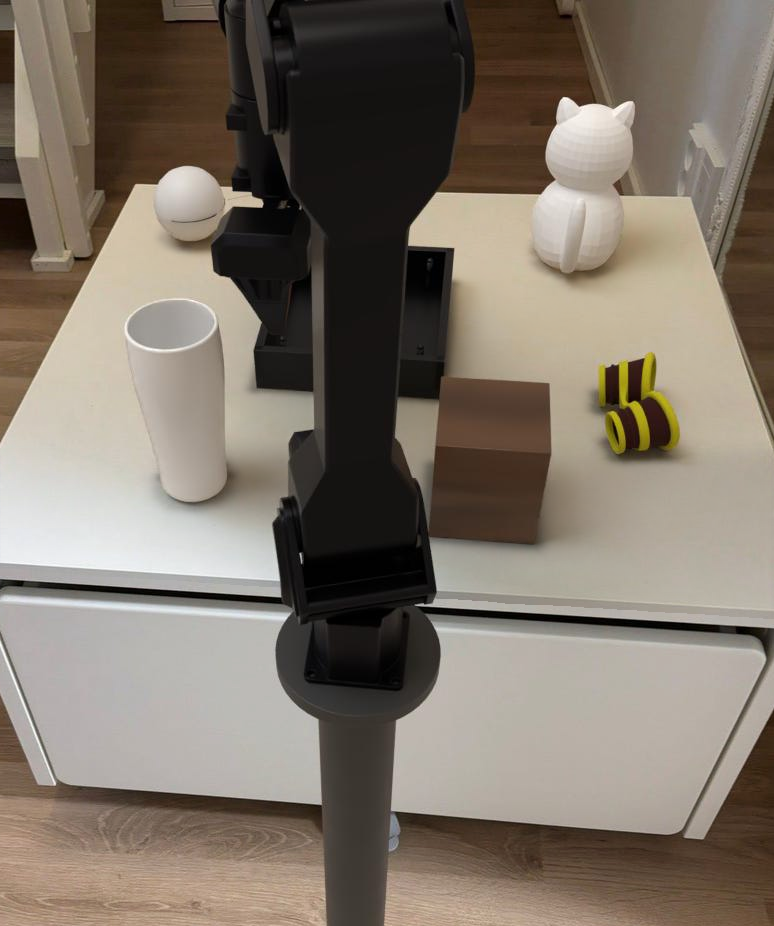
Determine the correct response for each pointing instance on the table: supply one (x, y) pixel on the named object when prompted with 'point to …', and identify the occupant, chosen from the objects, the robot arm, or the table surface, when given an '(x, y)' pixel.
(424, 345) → the tray
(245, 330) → the table surface
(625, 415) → the opera glasses
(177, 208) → the white ball
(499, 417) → the block
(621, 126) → the cat figurine
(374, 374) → the robot arm
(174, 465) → the drinking glass
